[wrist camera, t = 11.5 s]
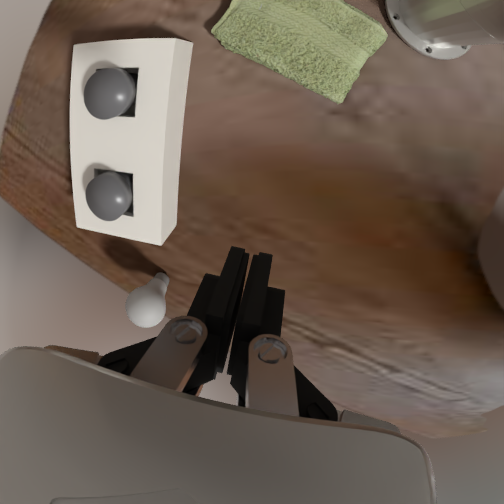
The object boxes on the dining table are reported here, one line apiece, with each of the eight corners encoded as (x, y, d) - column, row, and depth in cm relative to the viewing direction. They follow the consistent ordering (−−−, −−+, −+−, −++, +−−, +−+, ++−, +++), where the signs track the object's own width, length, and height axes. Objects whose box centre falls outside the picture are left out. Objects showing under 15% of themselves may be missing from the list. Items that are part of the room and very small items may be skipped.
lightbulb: (173, 258, 49) (146, 302, 40) (186, 288, 52) (164, 335, 43) (141, 262, 50) (111, 305, 41) (155, 291, 53) (130, 336, 44)
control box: (99, 45, 32) (73, 44, 27) (193, 42, 32) (175, 38, 27) (97, 209, 46) (76, 227, 41) (176, 225, 46) (161, 245, 41)
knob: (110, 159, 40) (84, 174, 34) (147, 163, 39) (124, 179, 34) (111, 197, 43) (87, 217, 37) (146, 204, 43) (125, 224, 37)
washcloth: (262, -38, 25) (259, -47, 23) (389, 32, 28) (396, 28, 25) (209, 42, 32) (202, 39, 29) (334, 111, 35) (338, 113, 32)
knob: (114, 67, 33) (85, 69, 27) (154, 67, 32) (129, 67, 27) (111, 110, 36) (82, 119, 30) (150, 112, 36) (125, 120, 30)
